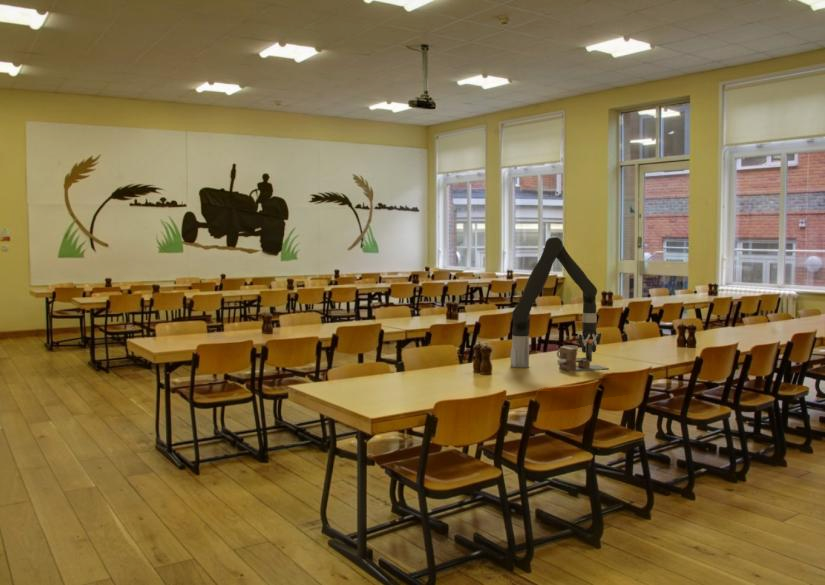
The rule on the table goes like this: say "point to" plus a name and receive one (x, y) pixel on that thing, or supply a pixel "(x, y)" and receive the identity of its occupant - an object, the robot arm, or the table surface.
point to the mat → (592, 367)
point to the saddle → (584, 364)
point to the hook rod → (588, 353)
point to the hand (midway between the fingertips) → (588, 352)
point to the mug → (568, 346)
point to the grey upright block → (568, 358)
